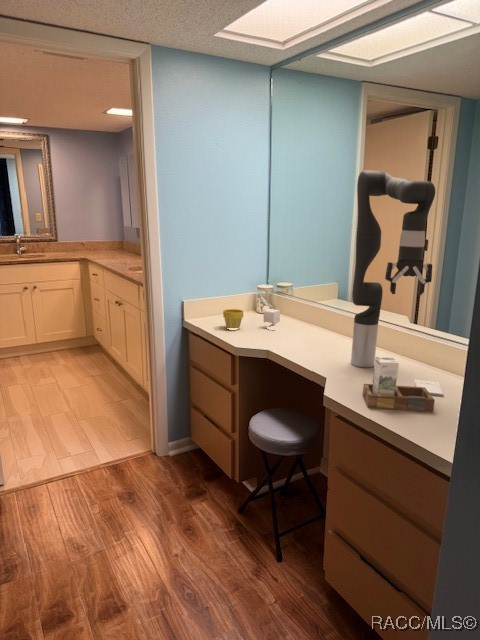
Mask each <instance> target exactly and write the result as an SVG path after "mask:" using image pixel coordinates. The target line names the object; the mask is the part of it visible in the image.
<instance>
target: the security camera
mask: <svg viewBox="0 0 480 640" xmlns="http://www.w3.org/2000/svg"><path fill="white" fill-rule="evenodd" d="M280 318H281V310H280V309H275V308H266V309H265V310H263V322H264V323H269V324H270V325H269V327H271V326H276V324H277V323H280Z"/></svg>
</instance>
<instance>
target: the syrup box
mask: <svg viewBox="0 0 480 640" xmlns="http://www.w3.org/2000/svg"><path fill="white" fill-rule="evenodd" d="M399 364H400V363H399V362H398V361H397V360H396V358H394V357H392V356H389V357H388V356H375V362H374V366H373V376H372V378H373V379H372V383H371V384H372V394H375V395H377V394H389V395H394V396H395V390H396V386H397V382H398V381H397V380H398V372H399V366H400V365H399Z"/></svg>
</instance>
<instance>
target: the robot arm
mask: <svg viewBox="0 0 480 640" xmlns="http://www.w3.org/2000/svg"><path fill="white" fill-rule="evenodd" d="M356 183H357V185H356V187H357V188H356V194H357V196H356V198H357V200H356V201H357V224H356V225H357V226H356V234H355V235H356V236H355V237H356V238H355V263H354V264H355V265H354V267H355V268H354V276H353V283H352V294H351V295H352V296H351V298H352V303H353V304H354V305H355V306H358V307H359V306H361V307H368V308H367V309H365V310H364V311H363V310H362V312H359V313H357V314H355V315H354V320H353V321H354V322H353V334H352V345H351V355H350V356H351V357H350V364H351V365H352V366H355V367H358V368H372V367H373V368H374V364H375V357H376V350H377V340H378V339H377V338H378V330H379V329H378V328H379V320H380V315H381V309H382V308H381V307H382V302H383V301H382V300H383V293H384V292H383V286H382V284H381V283H380V282H371V281H370V282H368V281H367V282H366V281H365V276H366V272H367V270H368V268H369V266H370V265H371V264H372V263H373V261H374V259H375V258H376V256H377V255H378V253H380V249H381V247H382V246H381V245H382V228H381V226H380V224H379V221H378V220H377V218H376V216H375V215H374V213H373V210H372V207H371V201H370V197H382V196H389V197H390V198H392V199H395V200H399V201H400V202H401V203H402V204H409V205H416V208H415V209H414V210H412V211H407V212H405V213H404V214H403V217H402V225H401V226H402V227H401V233H400V237H399V248H398V256H397V262H391V261H388V262H387V264H386V265H387V266H386V270H385V276H384V279H385V280H386V281H388V282H389V283H390V287H389V292H390V293H391V294H392V295H396V289H397V288H396V287H397V281H398V280H399V279H400V278H401V277H402V276H403V277H413V278H414V277H416V279H417V280H418V281H419V283H418V290H417V295H418V296H422V295H423V294H424V293H425V287H426V286H425V285H426V284H427V283H431V282H432V279H433V277H432V276H433V264H432V263H424V262H423V259H424V250H425V245H426V243H425V242H426V224H427V223H426V222H427V219H428V215H429V212H430V210H431V207H432V205H433V202H434V200H435V198H436V197H435V196H436V187H435V184H433V182H431V181H429V180H427V181H426V180H411V179H409V178H403V177H395V176H392V175H391V174H390V173H387V172H386V171H383V170H370V169H369V170H368V169H367V170H365V169H364V170H362V171H361V172H360V173H359V174H358V178H357V182H356ZM395 267H396V269H397V271H396V273H394V275H393V276H392V270H394V269H395ZM422 269H424V270H425V278H424V277H423V275H422V273H421V271H422Z"/></svg>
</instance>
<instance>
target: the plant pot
mask: <svg viewBox="0 0 480 640" xmlns="http://www.w3.org/2000/svg"><path fill="white" fill-rule="evenodd" d="M222 316H223V318H224V322H225V328H226V327H227V328H239V327H240V328H241V325H242V320H243V318H244V310H242V309H237V308H227V309H224V310H223V313H222ZM240 328H239V329H240Z"/></svg>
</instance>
